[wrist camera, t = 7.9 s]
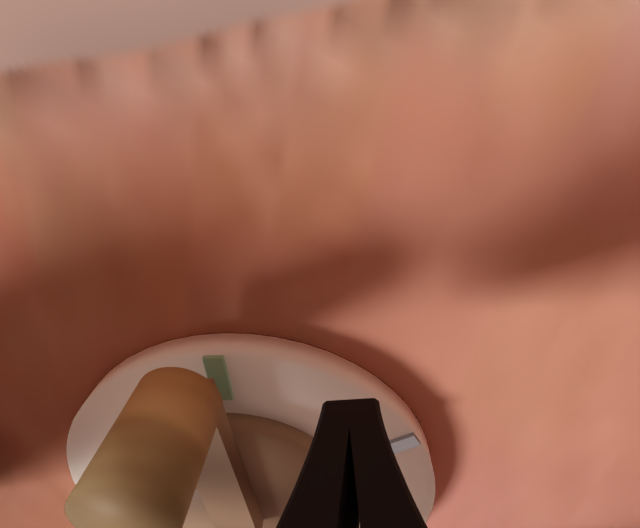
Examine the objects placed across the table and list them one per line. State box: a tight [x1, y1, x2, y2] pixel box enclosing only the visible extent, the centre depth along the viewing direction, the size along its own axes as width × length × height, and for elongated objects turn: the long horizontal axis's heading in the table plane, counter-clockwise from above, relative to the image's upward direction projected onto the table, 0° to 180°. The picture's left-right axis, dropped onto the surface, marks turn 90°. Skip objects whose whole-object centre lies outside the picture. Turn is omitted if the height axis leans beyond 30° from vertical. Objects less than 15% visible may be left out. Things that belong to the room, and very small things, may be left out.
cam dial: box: [65, 367, 313, 528], centre depth 13 cm, size 13×9×5 cm
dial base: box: [66, 333, 435, 528], centre depth 18 cm, size 16×16×1 cm
